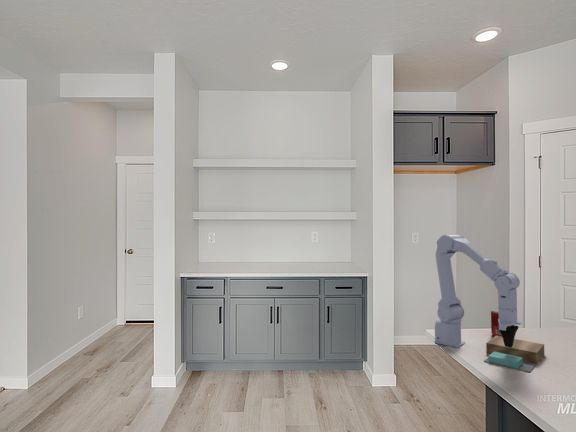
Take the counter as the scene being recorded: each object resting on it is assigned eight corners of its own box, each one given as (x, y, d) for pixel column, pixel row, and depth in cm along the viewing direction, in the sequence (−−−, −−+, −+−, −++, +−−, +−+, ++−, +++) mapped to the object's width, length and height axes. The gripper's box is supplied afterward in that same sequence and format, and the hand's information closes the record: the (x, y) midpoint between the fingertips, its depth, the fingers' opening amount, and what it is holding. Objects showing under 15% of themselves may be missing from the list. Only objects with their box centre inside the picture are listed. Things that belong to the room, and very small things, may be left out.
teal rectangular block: (494, 351, 136) (494, 357, 136) (488, 355, 131) (488, 361, 131) (522, 357, 129) (522, 363, 129) (517, 362, 125) (517, 368, 125)
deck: (486, 353, 140) (486, 342, 140) (496, 345, 149) (496, 335, 149) (536, 364, 129) (536, 352, 129) (544, 355, 137) (544, 344, 137)
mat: (483, 361, 132) (483, 361, 132) (491, 355, 138) (491, 354, 138) (530, 372, 122) (530, 371, 122) (536, 364, 129) (536, 364, 129)
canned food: (516, 338, 157) (516, 312, 157) (497, 339, 157) (496, 312, 157) (506, 333, 164) (505, 308, 165) (488, 333, 165) (487, 308, 165)
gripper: (514, 313, 125) (515, 354, 125) (525, 306, 136) (526, 343, 136) (491, 310, 130) (492, 349, 130) (504, 303, 141) (505, 339, 140)
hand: (508, 346), depth 133 cm, fingers closed
